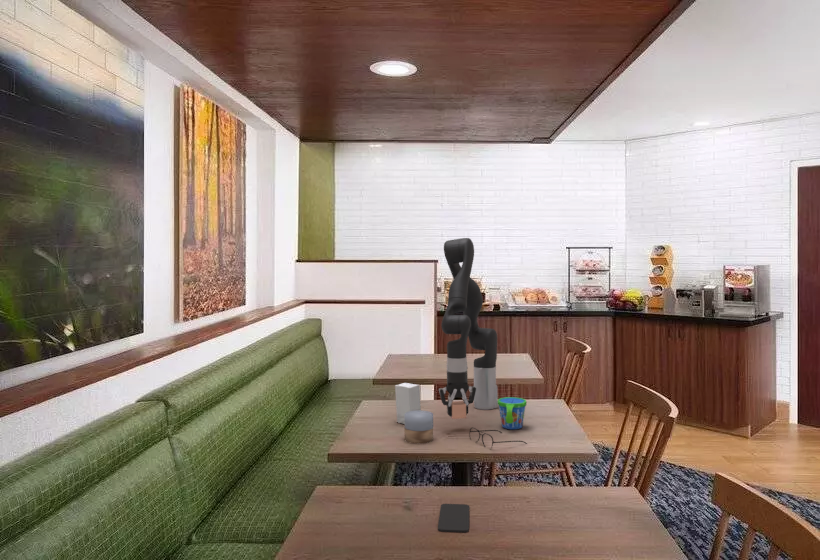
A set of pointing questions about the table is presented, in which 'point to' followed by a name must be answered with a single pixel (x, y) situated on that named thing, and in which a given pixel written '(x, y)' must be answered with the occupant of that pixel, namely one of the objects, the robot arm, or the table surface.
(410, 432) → the disc
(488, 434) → the glasses
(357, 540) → the table surface
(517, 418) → the snack cup
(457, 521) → the phone
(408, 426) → the slate top puck
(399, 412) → the skincare box
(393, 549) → the table surface
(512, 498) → the table surface
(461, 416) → the terracotta cube
